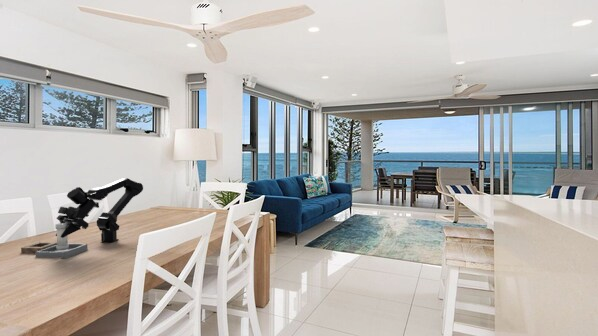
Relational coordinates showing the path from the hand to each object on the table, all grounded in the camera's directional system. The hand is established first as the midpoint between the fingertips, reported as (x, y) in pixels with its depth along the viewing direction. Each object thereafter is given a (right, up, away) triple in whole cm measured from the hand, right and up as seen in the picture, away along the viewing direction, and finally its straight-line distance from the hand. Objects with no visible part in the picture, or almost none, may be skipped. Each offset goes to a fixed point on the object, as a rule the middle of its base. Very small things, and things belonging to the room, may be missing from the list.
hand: (58, 236), depth 149 cm
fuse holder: (-13, -8, +5) cm, 16 cm away
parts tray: (+1, -8, +2) cm, 9 cm away
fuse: (+1, -6, +1) cm, 6 cm away
